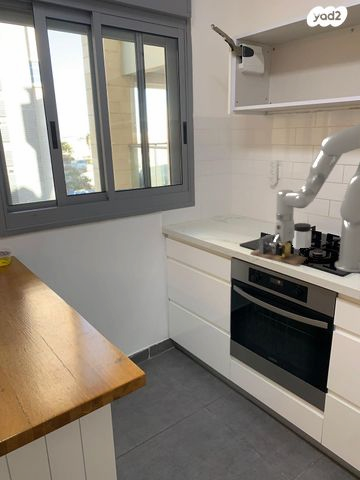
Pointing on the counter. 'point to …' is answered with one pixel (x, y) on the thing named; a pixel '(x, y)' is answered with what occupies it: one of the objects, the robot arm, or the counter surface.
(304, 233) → the jar
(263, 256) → the board
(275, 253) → the cradle
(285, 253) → the hook rod
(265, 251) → the grey arch
